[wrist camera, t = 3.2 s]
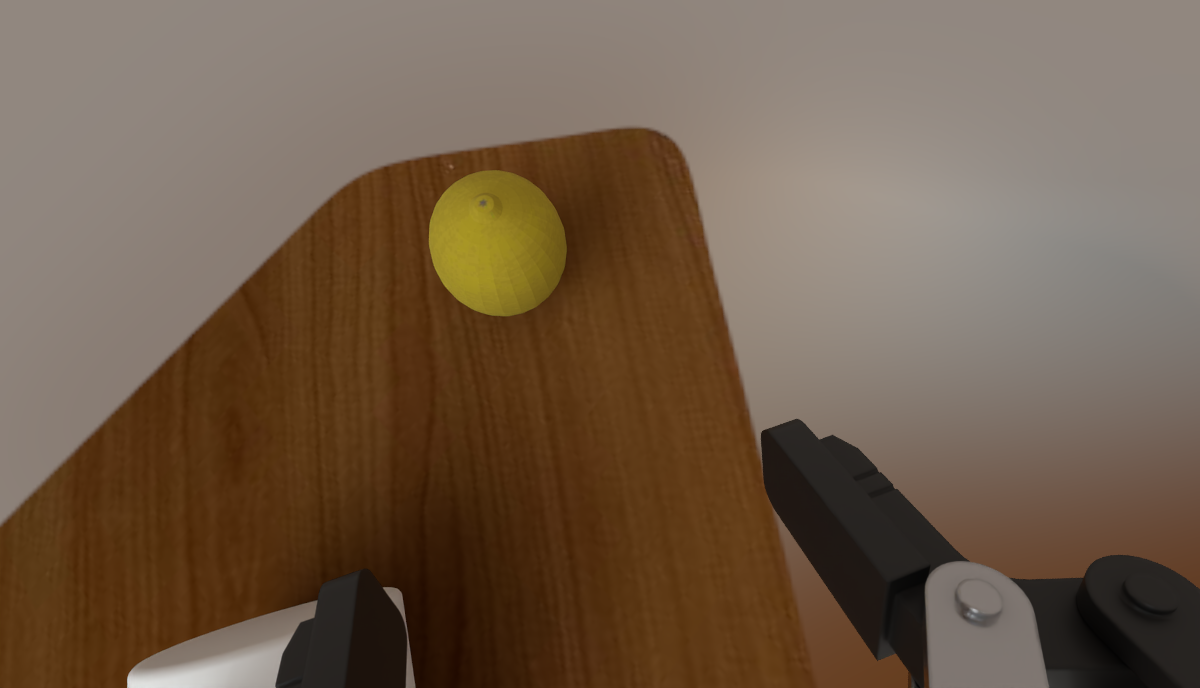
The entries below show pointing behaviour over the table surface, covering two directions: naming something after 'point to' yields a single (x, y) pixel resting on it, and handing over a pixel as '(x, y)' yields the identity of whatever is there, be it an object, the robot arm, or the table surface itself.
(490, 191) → the lemon
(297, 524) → the table surface
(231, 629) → the mug
